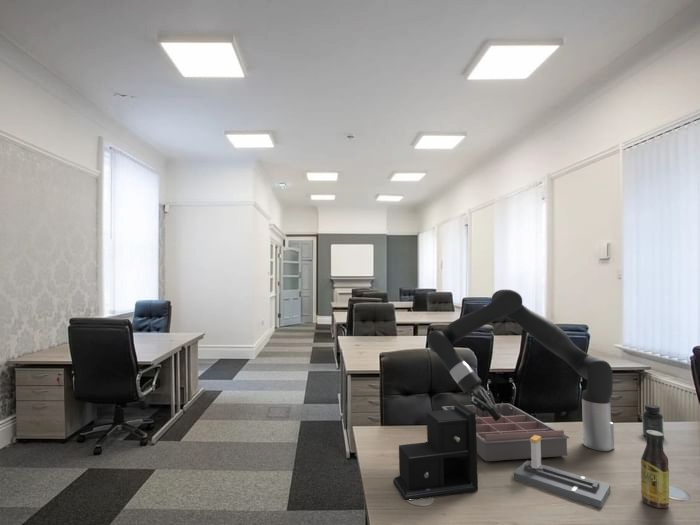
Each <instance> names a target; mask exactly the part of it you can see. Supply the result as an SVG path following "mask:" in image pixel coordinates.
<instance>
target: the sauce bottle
mask: <svg viewBox="0 0 700 525" xmlns="http://www.w3.org/2000/svg"><path fill="white" fill-rule="evenodd" d="M645 438H646V446H645V449H644V451H643V453H642V456H641V460H640V467H641V468H640V474H641V475H640V479H641V480H640V491H641V492H640V493H641V499H642V501H643V502H644V503H645V504H647V505H649V506H651V507H653V508H656V509H657V508H658V509H666V508H668V507H669V504H670V503H669V502H670V470H669V469H670V468H669V459H668V456H667V455H666V454H665V451H664V439H665V434H664V435H663V434H662V433H661V432H658V431H654V430H647V431H646V436H645Z"/></svg>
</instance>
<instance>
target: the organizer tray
mask: <svg viewBox="0 0 700 525" xmlns="http://www.w3.org/2000/svg"><path fill="white" fill-rule="evenodd" d="M454 406H455V405H450V406H449V405H448V406H441V408H442V410H453V409H455V407H454ZM464 406H466V407H468V408H469V409H471V410H472V411H474V412H476V413H475V414H476V438H477V456H479V457H480V458H482V460H483V461H485V462H494V461H495V462H496V461H508V460H509V461H510V460H523V459H531V442H530V438H531V437H533V436H534V435H538V436H541V440H540V441H541V458H550V457H552V458H553V457H567V456H568V441H567V440H568V439H570V437H569V436H568V435H566V434H565V431H564V429H560V430H559V429H556V428H554V427H552V426H550V425H548V424H547V423H544V421H541V420H539V419H537V418H536V417H534V416H532V415H530V414H529V413H527V412H525V411H523V410H522V409H520V408H518V407H516V406H515V405H512V404H511V403H496V404H495V405H494V406H495V407H494V408H495V409H496V410H497V411H498V413H499V414H500V415H501V418H500V419H499V420H497V421H495V420H494V419H493V417H492V416H491V415H490V414H489V412H486V411H482V410H480V409H479V408H477V407H476V406H474V405H473V404H469V405H468V404H467V405H464Z"/></svg>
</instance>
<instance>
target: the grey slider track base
mask: <svg viewBox="0 0 700 525" xmlns="http://www.w3.org/2000/svg"><path fill="white" fill-rule="evenodd" d="M530 464H531V460H526V461H524V462H523V463H522V464H521V465H520V466H518V467H517V469H515V470H514V471H513V480H516V481H518V482H521V483H523V484H528V485H531V486H534V487H537V488H538V489H539V488H540V489H543V490H545V491H549V492H552V493H554V494H557V495H560V496H563V497H566V498H569V499H573V500H575V501H578V502H581V503H585V504H588V505H590V506H593V507H596V508H599V509H602V508H603V506H604V504H605V502H606V500H607V499H608V498H609V496H610V493H611V492H612V491H611V484H610V483H606V482H602V481H598V480H596V479H593V478H589V477H586V476H583V475H578V474H575V473H572V472H569V471H565V470H561V469H558V468H555V467H552V466H548V465H545V464H542V463H541V466H540V467H543V471H541V470H537V469H534V468H531V467H530Z"/></svg>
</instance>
